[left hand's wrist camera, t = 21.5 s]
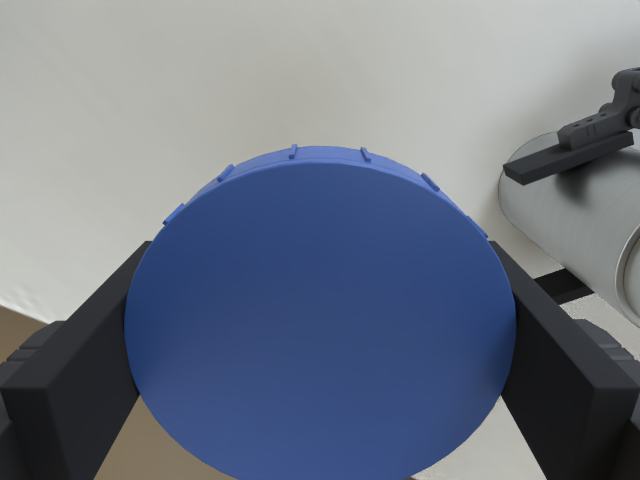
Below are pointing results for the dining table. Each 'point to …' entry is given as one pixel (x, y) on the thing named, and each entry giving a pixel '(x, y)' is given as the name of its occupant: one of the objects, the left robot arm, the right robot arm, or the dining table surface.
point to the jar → (585, 220)
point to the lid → (320, 320)
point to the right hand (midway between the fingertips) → (528, 236)
